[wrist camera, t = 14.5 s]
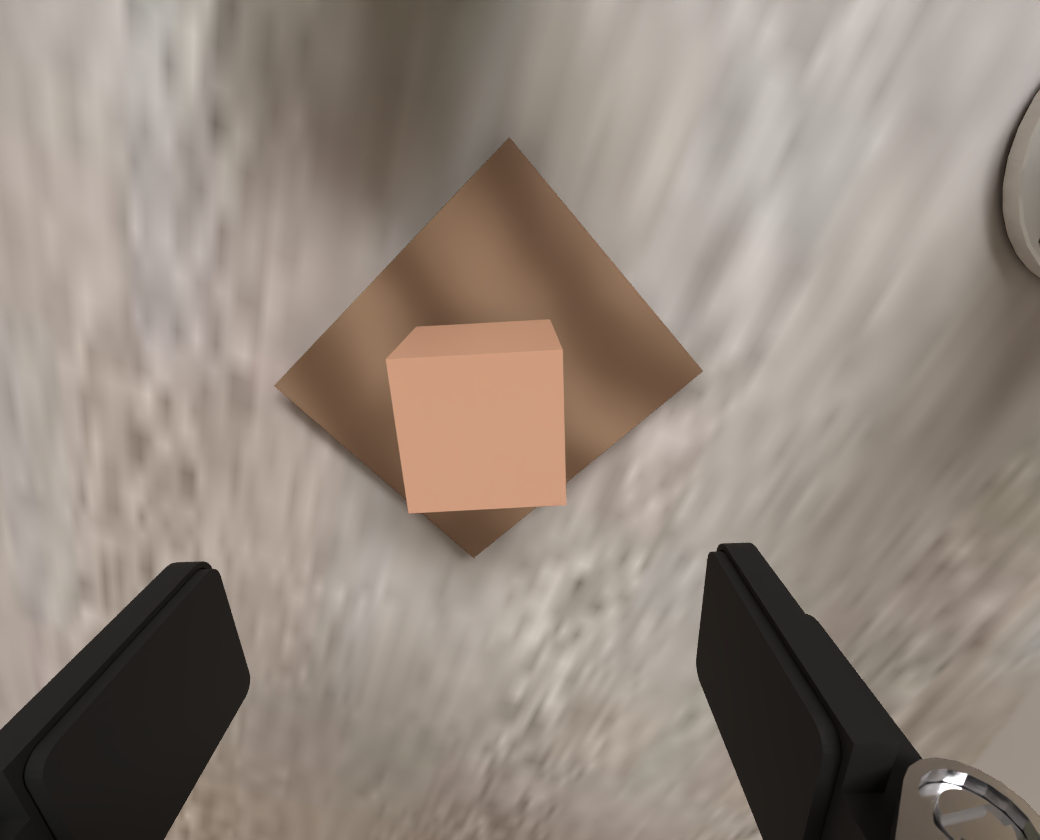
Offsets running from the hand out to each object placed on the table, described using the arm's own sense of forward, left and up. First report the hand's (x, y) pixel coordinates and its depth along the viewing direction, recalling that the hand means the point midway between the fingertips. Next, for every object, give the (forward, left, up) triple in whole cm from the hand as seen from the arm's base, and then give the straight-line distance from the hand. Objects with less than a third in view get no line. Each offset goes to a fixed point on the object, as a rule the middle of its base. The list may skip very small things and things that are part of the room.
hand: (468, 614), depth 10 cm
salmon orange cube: (0, 0, -15) cm, 15 cm away
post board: (0, 0, -18) cm, 18 cm away
